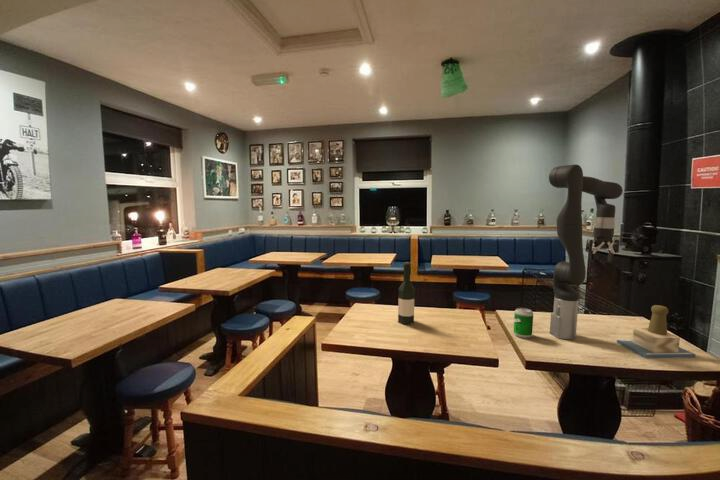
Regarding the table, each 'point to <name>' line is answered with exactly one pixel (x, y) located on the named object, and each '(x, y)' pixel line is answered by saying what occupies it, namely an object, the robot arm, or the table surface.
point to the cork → (658, 320)
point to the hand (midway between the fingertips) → (600, 261)
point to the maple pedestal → (655, 341)
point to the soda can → (523, 322)
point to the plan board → (648, 354)
